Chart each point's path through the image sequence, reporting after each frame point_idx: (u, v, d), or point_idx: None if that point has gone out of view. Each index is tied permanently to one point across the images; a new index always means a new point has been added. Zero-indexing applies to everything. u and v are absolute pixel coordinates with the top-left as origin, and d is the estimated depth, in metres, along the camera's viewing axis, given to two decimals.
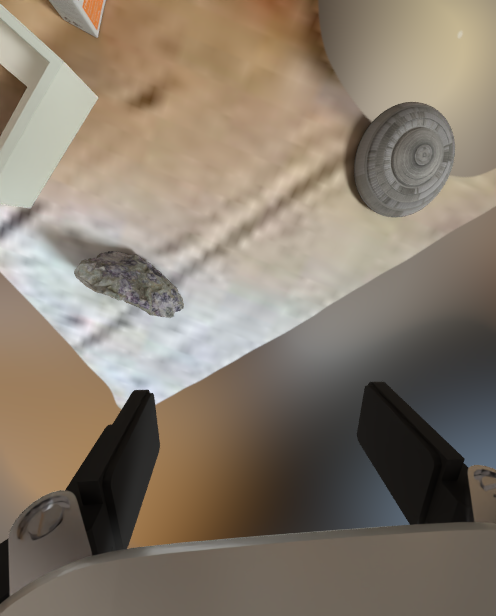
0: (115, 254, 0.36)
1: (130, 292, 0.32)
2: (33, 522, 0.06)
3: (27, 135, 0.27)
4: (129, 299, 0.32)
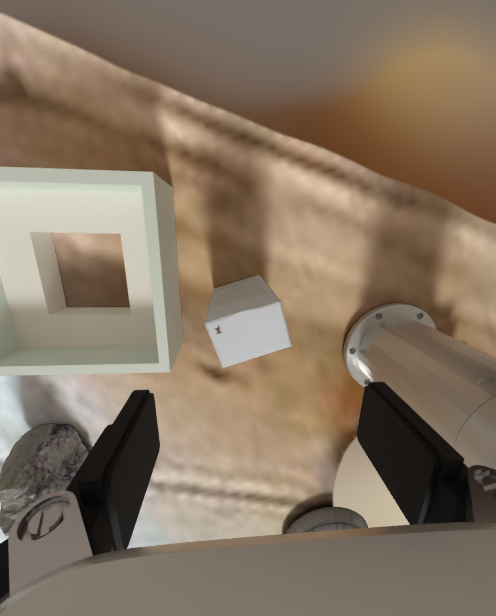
0: (67, 444, 0.32)
1: None
2: (33, 522, 0.06)
3: None
4: None
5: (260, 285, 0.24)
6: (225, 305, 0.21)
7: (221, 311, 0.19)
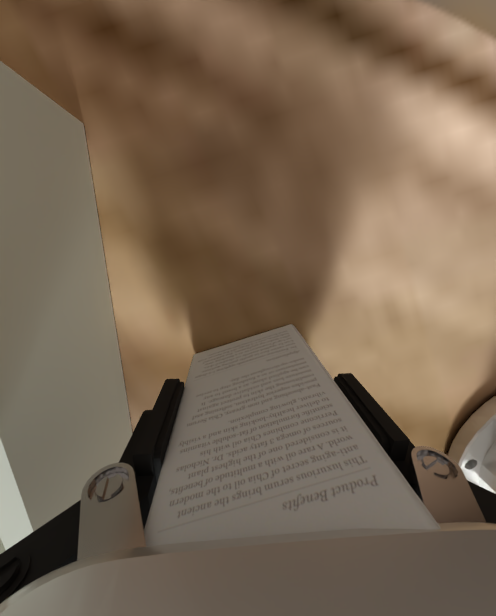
0: None
1: None
2: (99, 488, 0.06)
3: None
4: None
5: (317, 388, 0.08)
6: (209, 529, 0.05)
7: None
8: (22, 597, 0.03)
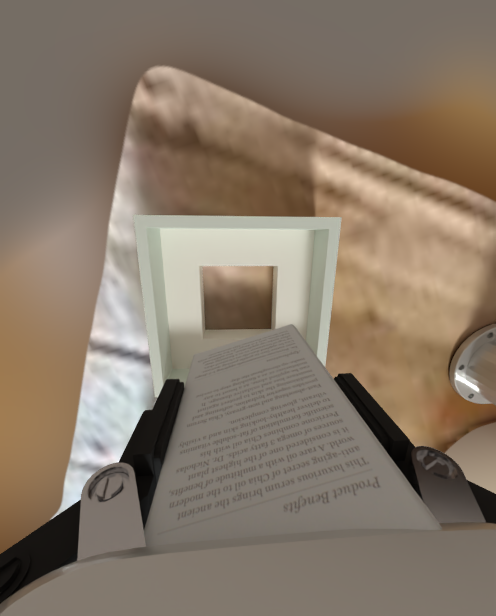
0: None
1: None
2: (99, 488, 0.06)
3: None
4: None
5: (318, 389, 0.08)
6: (209, 531, 0.05)
7: None
8: (22, 597, 0.03)
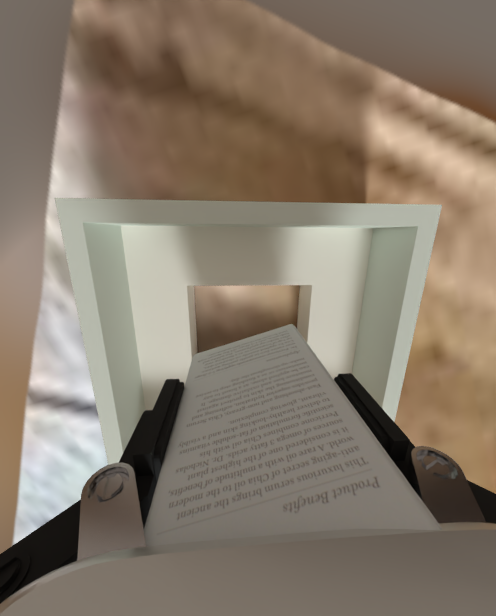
0: None
1: None
2: (99, 488, 0.06)
3: None
4: None
5: (317, 389, 0.08)
6: (208, 531, 0.05)
7: None
8: (22, 597, 0.03)
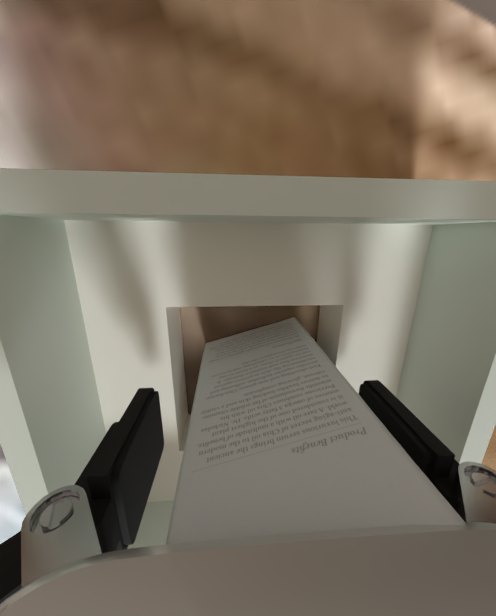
0: None
1: None
2: (44, 515, 0.06)
3: None
4: None
5: (318, 368, 0.10)
6: (234, 467, 0.07)
7: (220, 535, 0.05)
8: (22, 597, 0.03)
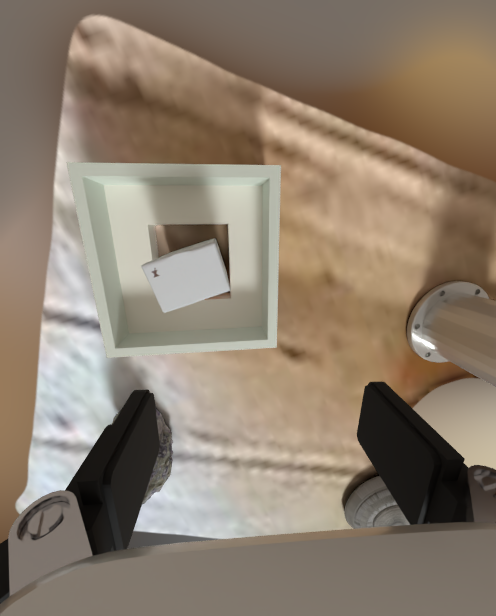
0: (157, 424, 0.34)
1: None
2: (33, 522, 0.06)
3: None
4: None
5: (208, 241, 0.24)
6: (168, 255, 0.21)
7: (161, 257, 0.20)
8: (22, 597, 0.03)
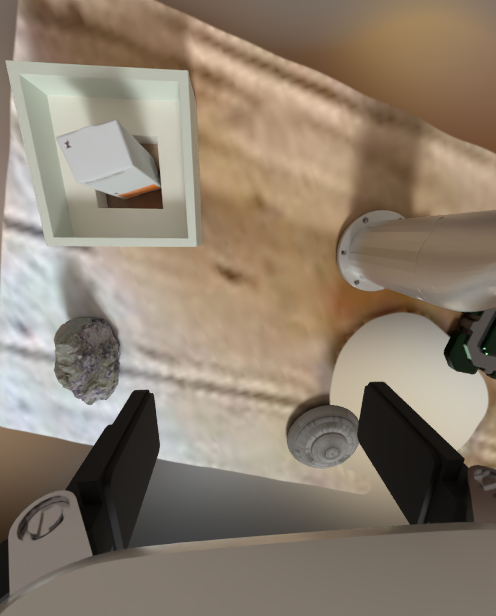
0: (103, 332, 0.38)
1: (79, 385, 0.34)
2: (33, 522, 0.06)
3: None
4: (72, 390, 0.34)
5: None
6: None
7: None
8: (22, 597, 0.03)
